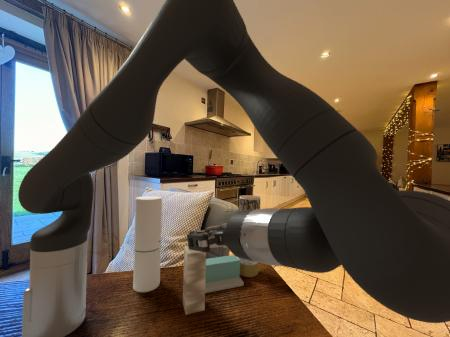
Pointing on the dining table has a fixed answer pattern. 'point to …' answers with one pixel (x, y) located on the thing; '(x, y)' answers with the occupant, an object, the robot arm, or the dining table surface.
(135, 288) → the cylindrical container
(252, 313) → the dining table surface
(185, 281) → the ash post
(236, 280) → the stand
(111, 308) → the dining table surface
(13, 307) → the dining table surface
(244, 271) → the bark log cylinder
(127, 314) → the dining table surface
